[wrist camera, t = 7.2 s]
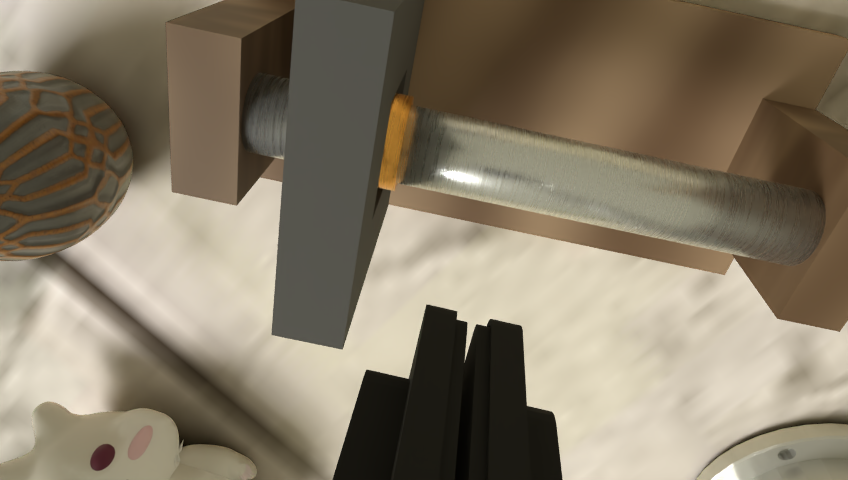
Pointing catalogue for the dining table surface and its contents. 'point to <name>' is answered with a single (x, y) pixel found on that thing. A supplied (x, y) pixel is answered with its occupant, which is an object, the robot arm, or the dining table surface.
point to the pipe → (570, 179)
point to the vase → (56, 164)
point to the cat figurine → (119, 449)
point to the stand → (564, 111)
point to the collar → (337, 157)
